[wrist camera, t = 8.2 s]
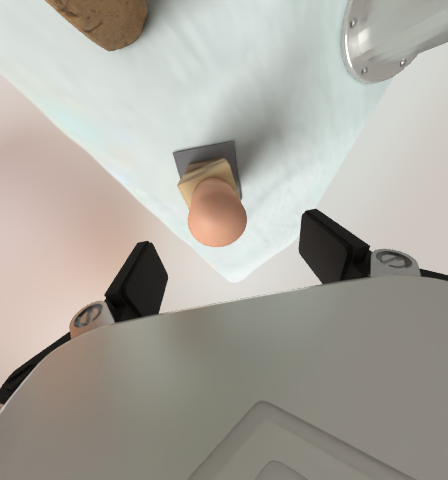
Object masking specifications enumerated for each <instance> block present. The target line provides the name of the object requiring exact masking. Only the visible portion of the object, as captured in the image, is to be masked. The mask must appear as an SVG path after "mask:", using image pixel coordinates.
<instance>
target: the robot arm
mask: <svg viewBox="0 0 448 480" xmlns="http://www.w3.org/2000/svg"><path fill="white" fill-rule="evenodd" d="M446 42H448V0H349V2H348V5H347V9H346V12H345V16H344V21H343V27H342V36H341V48H342V57H343V60H344V64H345V66H346V68H347V70H348V72H349V74H350V75H351V76H352V77H353V78H354V79H356V80H357V81H359V82H362V83H366V84H370V83H377V82H380V81H384V80H386V79H388V78H391V77H393V76H394V75H396V74H397V73H399V72H400V71H401V70H403V69H404V68H405V67H406V66H407V65H409V64H410V63H411V62H412V60H413V59H414V58H415V57H416V56H417V55H418V54H419V53H421V52H424V51H426V50H429V49H431V48H433V47H436V46H439V45H441V44H444V43H446ZM369 248H370V246H369V245H368V244H366V243H365V242H364V241H362V240H361V239H359V238H358V237H356V236H355V235H353V234H352V233H351V232H349V231H348V230H346V229H345V228H343V227H342V226H340V225H339V224H338V223H336V222H335V221H333V220H332V219H330V218H329V217H328V216H326V215H325V214H323V213H322V212H320V211H319V210H317V209H312V210H307V211H305V213H304V214H302V219H301V230H300V241H299V253H300V255H301V256H302V258H303V259H304V260H305V261H306V263H307V264H308V265H309V267H310V268H311V269H312V271H313V272H314V273H315V275H316V276H317V277H318V278H319V280H320V281H321V282H322V284H321V285H315V286H310V287H304V288H298V289H293V290H287V291H281V292H275V293H270V294H265V295H259V296H253V297H248V298H242V299H236V300H231V301H225V302H220V303H214V304H210V305H204V306H198V307H193V308H188V309H182V310H177V311H171V312H166V313H161V314H159V310H160V306H161V302H162V299H163V295H164V292H165V287H166V284H167V280H168V274H167V272H166V270H165V268H164V266H163V264H162V262H161V260H160V258H159V256H158V254H157V252H156V249H155V247H154V245H153V244H152V243H149V241H144V242H139V243H137V245H136V246H135V248H134V249H133V251H132V252H131V254H130V255H129V257H128V258H127V260H126V262H125V263H124V265H123V267H122V268H121V270H120V271H119V273H118V274H117V276H116V277H115V279H114V281H113V282H112V284H111V285H110V287H109V288H108V290H107V291H106V293H105V296H106V299H105V301H97V302H93V303H91V304H89V305H87V306H85V307H84V308H82V309H81V310H80V311H79V312H78V313H77V314H76V315H75V316H74V317H73V319H72V320H71V322H70V327H69V328H70V332H68V333H67V334H66V335H64V336H63V337H61V338H60V339H59V340H57V341H56V342H54V343H53V344H51V345H50V346H49V347H47V348H46V349H44V350H43V351H42V352H40V353H39V354H37V355H36V356H34V357H33V358H32V359H30V360H29V361H28V362H26V363H25V364H23V365H22V366H21V367H19V368H18V369H16V370H15V371H14V372H13V373H12V374H11V375H10V376H9V377H8V379H7V380H6V381H5V383H4V384H3V385H2V387H1V388H0V480H448V275H444V274H440V273H436V272H432V271H428V270H423V269H419V266H418V264H417V262H416V260H415V259H414V258H412V257H411V256H409V255H407V254H405V253H402V252H400V251H396V250H390V249H379V250H375V251H374V252H371V251H370V250H369Z"/></svg>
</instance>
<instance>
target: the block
mask: <svg viewBox="0 0 448 480" xmlns="http://www.w3.org/2000/svg"><path fill="white" fill-rule="evenodd" d="M45 1H46V2H47V3H49V4H50V5H51V6H52V7H53V8H54V9H55V10H56V11H57V12H58V13H59V14H61V15H62V16H63V17H64V18H65V19H66V20H67V21H68V22H70V23H71V24H72V25H73V26H74V27H75V28H77V29H78V30H79V31H80V32H82V33H83V34H84V35H85V36H87V37H88V38H89V39H90V40H92V41H93V42H95V43H96V44H98V45H99V46H101V47H102V48H104V49H105V50H107V51H114V50H117V49H121V48H124V47H126V46H128V45H130V44H132V43H133V42H134V41H135V40H137V39H138V37H139V36H140V35H141V34H142V29H143V28H142V27H143V25H144V22H145V20H146V17H147V15H148V6H147V1H146V0H45Z"/></svg>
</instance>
